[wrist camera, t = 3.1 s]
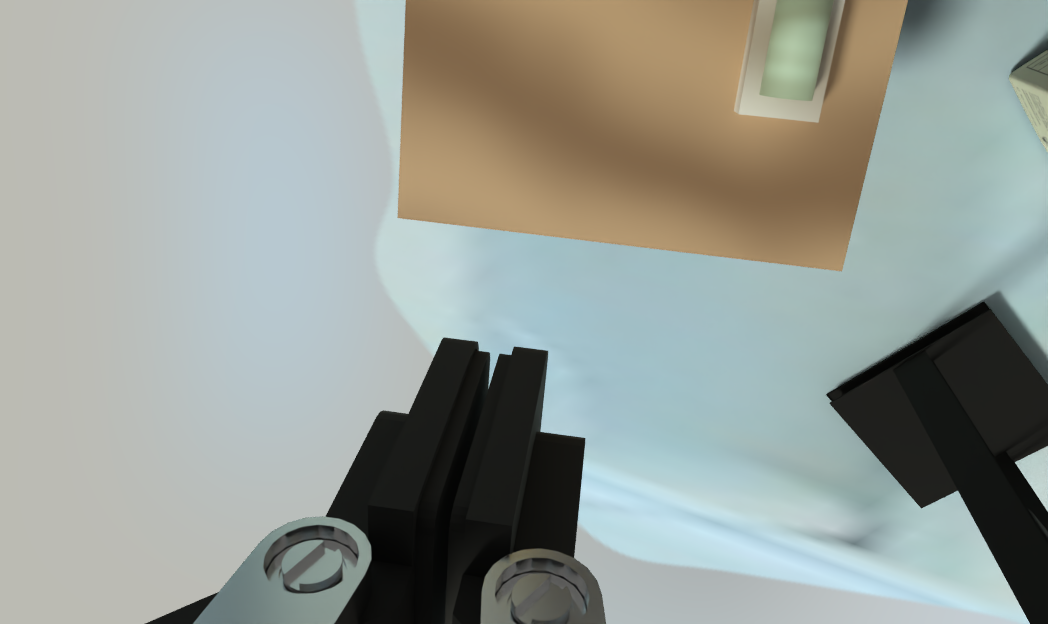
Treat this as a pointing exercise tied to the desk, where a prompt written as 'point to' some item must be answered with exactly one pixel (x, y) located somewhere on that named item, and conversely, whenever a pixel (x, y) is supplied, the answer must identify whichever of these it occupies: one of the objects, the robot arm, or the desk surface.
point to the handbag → (964, 436)
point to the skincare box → (1034, 93)
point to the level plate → (647, 120)
